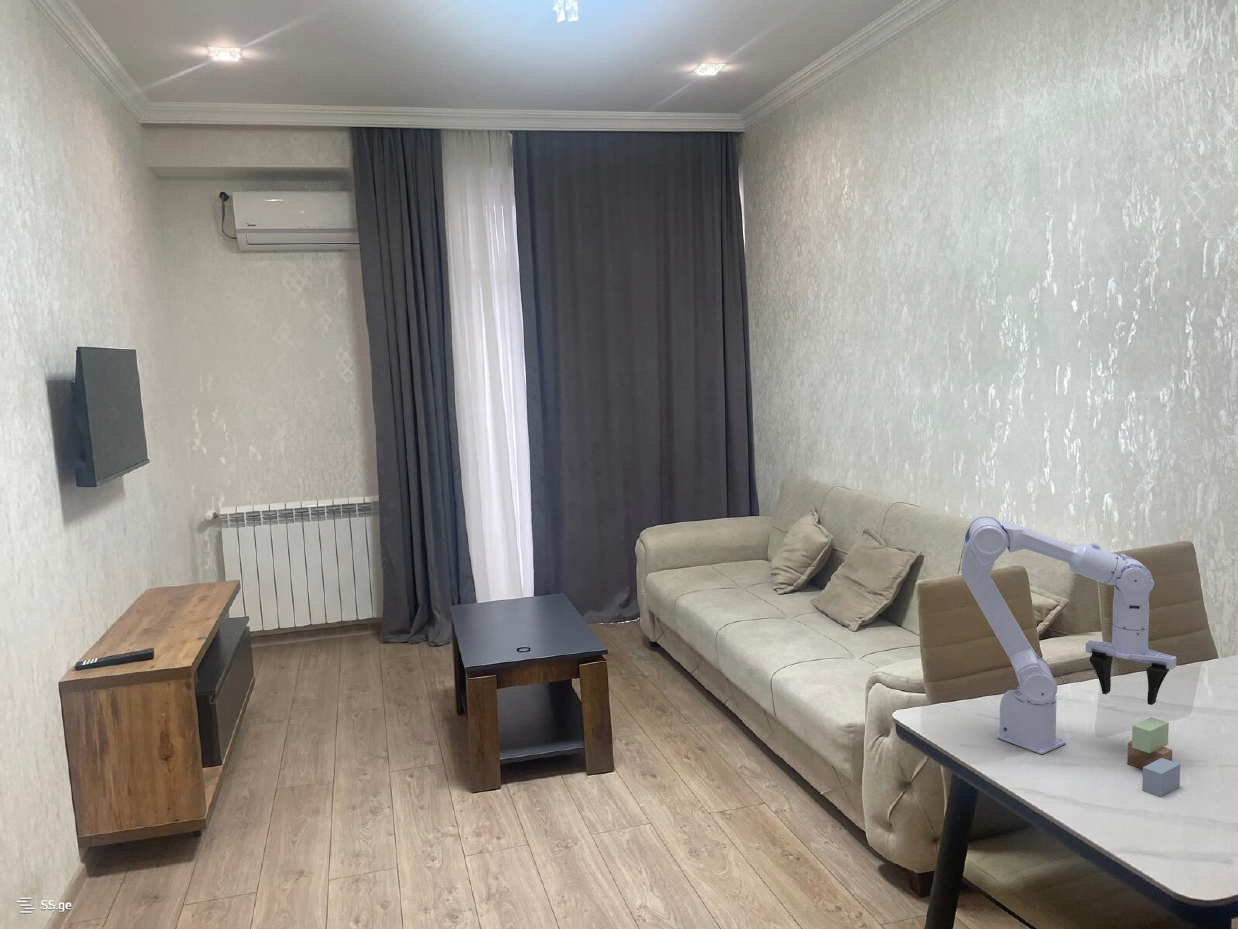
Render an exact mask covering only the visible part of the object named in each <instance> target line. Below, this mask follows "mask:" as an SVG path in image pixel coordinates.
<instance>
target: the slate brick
mask: <svg viewBox="0 0 1238 929" xmlns="http://www.w3.org/2000/svg"><path fill="white" fill-rule="evenodd" d="M1141 785H1142V786H1141V790H1142V791H1144V792H1146V793H1149V794H1152V795H1154V796H1157V797H1160V798H1161V797H1164V796H1165V795H1167V794H1169V793H1171V792H1173V791H1174V790H1176V789H1179V787H1181V786H1180V785H1181V763H1179V762H1174V761H1173V760H1172V761H1170V760H1167V759H1164V758H1160V759H1158V760H1156V761H1154V762H1152V763H1151V764H1149V765H1147V766H1145V767H1143V769H1142V782H1141Z"/></svg>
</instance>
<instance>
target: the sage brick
mask: <svg viewBox="0 0 1238 929" xmlns="http://www.w3.org/2000/svg"><path fill="white" fill-rule="evenodd" d="M1169 724H1170V723H1169V722H1168V721H1164V720H1161V719H1158V718H1155V717H1152V716H1151V717H1149V718H1146V719H1144V720H1142V721H1139V722H1137V723H1135V724H1133V725H1132V731H1131V732H1132V734H1131V737H1132V738H1131V741H1132V747H1133V748H1135V749H1138V750H1141V751H1144V752H1147V753H1151V752H1153V751H1155V750H1157V749H1159V748H1162V747H1166V746H1167V745H1169Z"/></svg>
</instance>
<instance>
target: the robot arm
mask: <svg viewBox="0 0 1238 929" xmlns="http://www.w3.org/2000/svg"><path fill="white" fill-rule="evenodd" d="M1090 543H1091V544H1088V543H1086V542H1085V543H1084V542H1083V543H1080V544H1078V545H1075V546H1074V545H1071V544H1068V543H1065V542H1064V541H1060V540H1058V539H1057V538H1053V537H1050V536H1048V535H1045V534H1043V533H1041V532H1038V531H1035V530H1033V529H1030V528H1028V527H1026V526H1023V525H1020V524H1018V523H1014V522H1010V521H1007V520H1003V519H1000V521H999V520H997V519H996V518H995V517H992V516H988V515H984V516H983V515H982V516H979V517H977V518H975V519H973V520H972V521H971V522H970V524H969V525H968V528H967V530H966V532H965V533H964V535H963V546H962V556H961V564H960V565H961V566H960V571H961V572H960V573H961V576H962V578H963V581H964V582H965V584H966V586H967V588H968V590H969V591H970V593H971V595H972V596H973V598H974V600H975V602H976V603H977V605H978V607H979V609H980V610H981V612H982V613H983V616H984V617H985V619H986V620H987V622H988V624H989V626H990V628H991V629H992V631H993V633H994V634H995V636H996V638H997V639H998V641H999V644H1000V645H1001V646H1002V648H1003V650H1004V652H1005V653H1006V655H1007V657H1008V659H1009V661H1010V663H1011V665H1012V668H1013V669H1014V673H1015V677H1016V679H1017V681H1018V683H1019V685H1018V686H1017V687H1016V689H1009V690H1007V691H1006V692H1005V693H1004V694H1003V696H1002V697H1001V700H1000V703H999V734H997V735H996V737H997V739H999V740H1002V741H1004V742H1007V743H1011V744H1014V745H1016V746H1018V747H1021V748H1024V749H1026V750H1029V751H1032V752H1034V753H1037V754H1039V755H1043V754H1046V753H1048V752H1050V751H1052V750H1054V749H1057V748H1059V747H1061V746H1064V745H1066V744H1067V742H1066V740H1065V739H1061V738H1059V737H1057V693H1058V684H1057V683H1058V682H1057V680H1056V679H1055V677H1054V676H1053V674H1052V671H1051V668H1050V666H1049V663H1048V662H1047V661H1046V660H1045V659H1043V658H1042V657H1040V656H1039V655H1038V654H1037V653H1036V651H1035V650H1034V647H1033V646H1032V644H1030V642H1029V640H1028V638H1027V637H1026V635H1025V633H1024V632H1023V629H1022V628H1021V626H1020V624H1019V623H1018V621H1017V619H1016V618H1015V616H1014V614H1013V613H1012V611H1011V609H1010V607H1009V605H1008V603H1007V602H1006V600H1005V599H1004V597H1003V595H1002V594H1001V592H1000V590H999V588H998V587H997V585H996V583H995V582H994V580H993V578H992V576H991V575H990V574H991V571H992V569H993V566H994V565H995V562H996V561H997V559H999V558H1000V557H1001V556H1002V554H1003V553H1004V552H1005V551H1006V550H1007V551H1008V552H1009V553H1015V552H1019V551H1022V550H1027V551H1030V552H1035V553H1037V554H1039V555H1043V556H1046V557H1049V558H1052V559H1055V560H1058V561H1062V562H1065V563H1067V564H1068V566H1069V569H1070V571H1071V572H1072V573H1074V574H1077V575H1080V576H1082V577H1086V578H1088V579H1090V580H1094V581H1097V582H1099V583H1101V584H1105V585H1108V586H1112V585H1113V599H1112V625H1111V626H1112V629H1111V642H1109V641H1106V642H1105V641H1099V640H1098V641H1097V640H1091V639H1090V640H1088V641H1086V642H1085V653H1086V654H1087V653H1088V654H1091V656H1089V662H1090V664H1091V665H1092V667H1093V669H1094V671H1095V673H1096V675H1097V678H1098V681H1099V685H1100V688H1101V689H1100V690H1101V693H1102V694H1103V695H1107V694H1109V693H1110V692H1111V686H1112V685H1111V684H1112V683H1111V682H1112V680H1111V676H1112V674H1111V673H1112V665H1113V658H1119V659H1123V660H1129V661H1134V662H1137V663H1144V664H1149V665H1150V666H1148V667H1147V668H1146V675H1147V689H1148V690H1147V698H1146V699H1147V705H1151V706H1153V705H1154V704H1155V703H1156V702H1157V698H1158V694H1159V691H1160V689H1161V686H1162V684H1163V681H1164V680H1165V678H1166V676H1167V674H1168V673H1169V672H1170V670H1171V671H1172V670H1174V669H1176V667H1177V656H1175V655H1170V654H1167V653H1163V652H1160V651H1157V650H1154V649H1152V648H1151V649H1150V648H1149V630H1150V628H1149V624H1150V602H1149V600H1150V599H1149V598H1150V593H1151V592H1152V591H1153V588H1154V586H1155V580H1153V574H1152V573H1151V571H1150V570H1149V569H1148V568H1147V567H1146V566H1145V565H1143V563H1142V562H1140V561H1139V560H1137V559H1135V558H1133V557H1132V556H1128V555H1126V554H1124V553H1120V554H1119V555H1118V554H1116V553H1113V552H1111V551H1108V550H1105V549H1102V548H1101V546H1100V544H1098V543H1095V542H1090Z"/></svg>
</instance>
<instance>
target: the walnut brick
mask: <svg viewBox="0 0 1238 929" xmlns="http://www.w3.org/2000/svg"><path fill="white" fill-rule="evenodd" d="M1160 758H1164V759H1167V760H1170V761H1173V749H1171V748H1168V747H1166V746H1164V747H1162V748H1159V749H1157V750H1155V751H1153V752H1151V753H1147V752H1144V751H1141V750H1138V749H1135V748H1133V747H1132V740H1130V741H1128V742H1127V762H1126V763H1127V765H1130V766H1133V767H1135V768H1138V769H1141V770H1143V767H1145V766H1147V765H1149V764H1151V763H1152V762H1154V761H1156V760H1158V759H1160Z"/></svg>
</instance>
